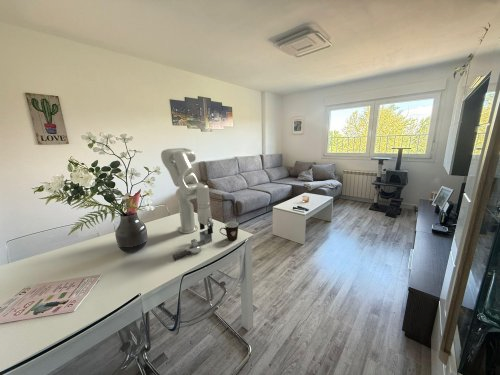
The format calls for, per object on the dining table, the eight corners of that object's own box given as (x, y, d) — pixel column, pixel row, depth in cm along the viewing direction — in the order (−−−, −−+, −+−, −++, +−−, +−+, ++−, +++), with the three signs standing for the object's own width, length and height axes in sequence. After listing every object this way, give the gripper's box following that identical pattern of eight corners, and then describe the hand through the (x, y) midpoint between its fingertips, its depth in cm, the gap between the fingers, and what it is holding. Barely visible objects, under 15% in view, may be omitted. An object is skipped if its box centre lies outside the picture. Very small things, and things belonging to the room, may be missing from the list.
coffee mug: (239, 235, 137) (239, 221, 134) (237, 242, 129) (237, 227, 126) (222, 235, 138) (222, 221, 136) (219, 241, 130) (218, 227, 127)
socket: (200, 240, 131) (199, 232, 129) (207, 238, 134) (207, 229, 133) (204, 244, 127) (203, 235, 126) (212, 241, 130) (211, 232, 129)
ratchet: (171, 256, 114) (170, 245, 112) (197, 246, 124) (196, 236, 122) (176, 262, 109) (175, 250, 107) (203, 251, 119) (202, 240, 117)
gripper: (191, 204, 128) (194, 229, 132) (205, 209, 116) (208, 237, 119) (202, 201, 133) (204, 225, 137) (216, 206, 121) (219, 233, 124)
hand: (206, 231), depth 128 cm, fingers open, 9 cm apart
